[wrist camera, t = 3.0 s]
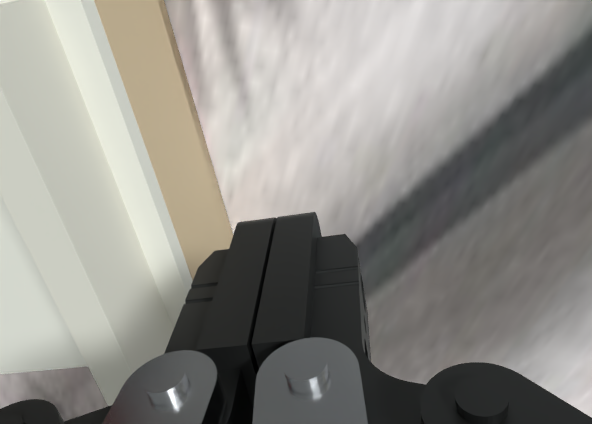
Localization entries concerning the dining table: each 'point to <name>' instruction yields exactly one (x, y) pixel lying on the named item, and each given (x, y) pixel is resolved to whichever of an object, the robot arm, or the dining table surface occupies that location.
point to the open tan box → (168, 123)
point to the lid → (78, 205)
